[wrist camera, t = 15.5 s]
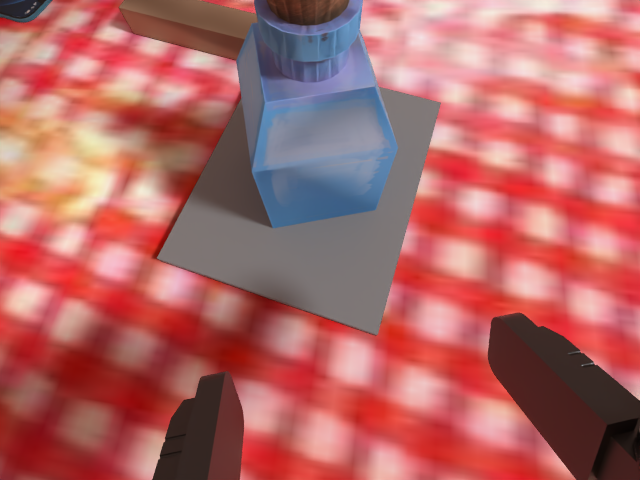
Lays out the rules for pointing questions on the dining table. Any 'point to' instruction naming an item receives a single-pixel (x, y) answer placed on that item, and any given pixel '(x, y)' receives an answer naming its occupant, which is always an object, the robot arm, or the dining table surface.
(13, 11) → the smartphone
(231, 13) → the block
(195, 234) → the rubber mat
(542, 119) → the dining table surface
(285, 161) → the perfume bottle
